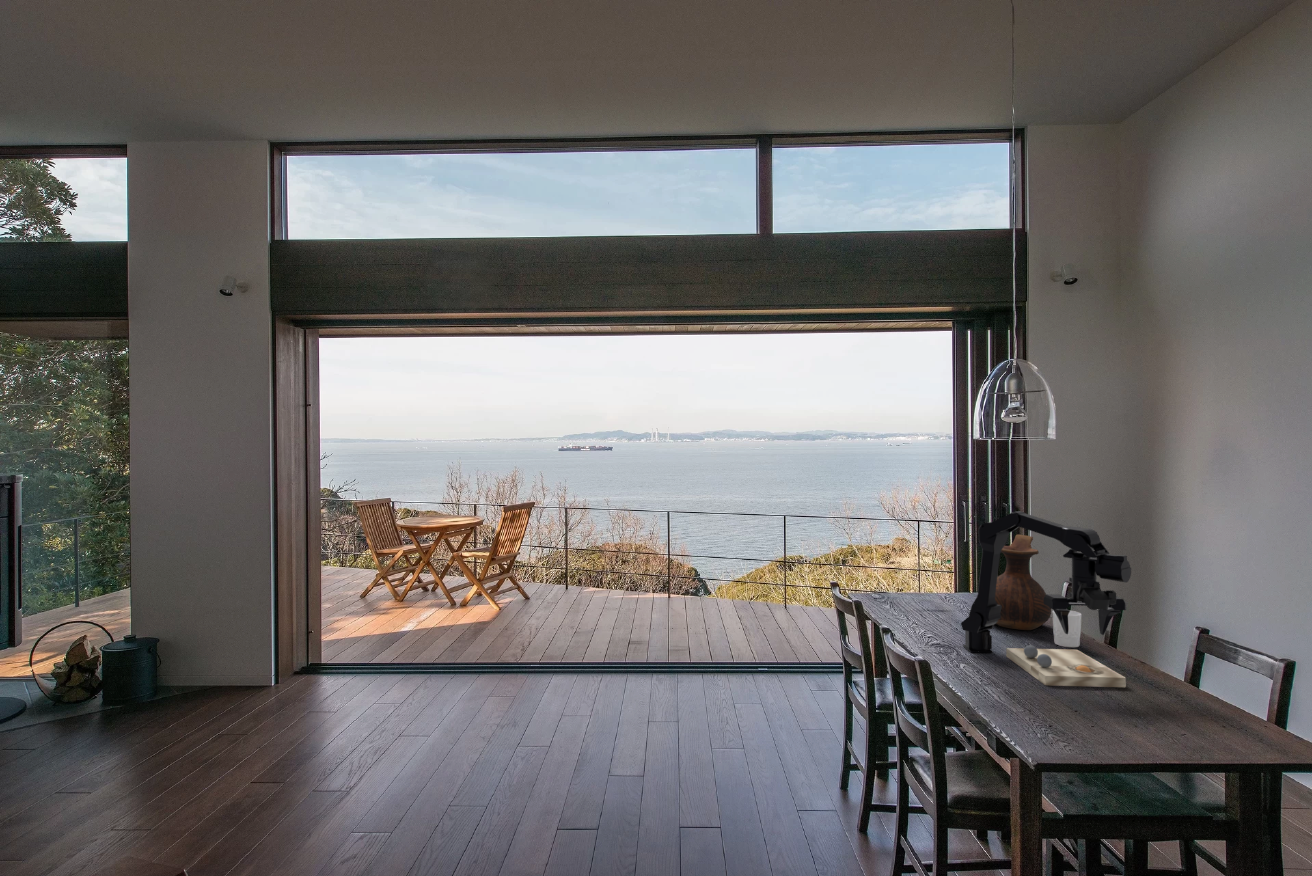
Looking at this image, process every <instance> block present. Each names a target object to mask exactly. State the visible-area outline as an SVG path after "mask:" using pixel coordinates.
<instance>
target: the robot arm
mask: <svg viewBox="0 0 1312 876" xmlns="http://www.w3.org/2000/svg"><path fill="white" fill-rule="evenodd" d="M1018 528H1022V529H1025V530H1028V531H1031V532H1034V533H1037V534H1040V535H1043V536H1046V537H1049V538H1052V539H1055V540H1057V541H1058V542H1060V543H1061V544H1063V546H1065V547H1067V548H1069V549H1068V551H1067V552H1066V553H1064V554H1063V555H1062V556H1063V558H1067V559H1071V577H1069V578H1068V581H1069V582H1070V583H1071V592H1069V595H1068V596H1069V597H1066V596H1063V595H1061V594H1056V593H1055V594H1049V593H1048V594H1047V593H1046V595H1045V597H1044V604H1045V605H1047V606H1049V608H1051V610H1052V611H1053V610H1054V612H1055V614H1056V615H1057V617H1058V619H1059V621H1060V624H1061V626H1062V628H1063V630H1064V633H1065V634H1068V630H1069V627H1068V614H1069V612H1070V611H1069V609H1068V608H1069V607H1070V606H1082V607H1083V606H1085V607H1087V609H1089V610H1092V611H1096V610H1097V611H1098V613H1097V614H1098V626H1099V627H1098V628H1099V629H1098V630H1099V634H1100V635H1102V636H1104V635H1105V633H1106V631H1107V629H1108V627H1109V625H1110V622H1111V620H1112V619H1113V618H1114V616H1115V615H1117V614H1120V613H1122V611H1126V610H1127V602H1126V600H1125V599H1123V598H1121V597H1119V596H1118V595H1117V593H1116V591H1115V590H1110V589H1109V590H1107V589H1106V590H1102V589H1101V584H1100V582H1099V581H1098V580H1097V578H1098V577H1099V578H1100V579H1101V580H1107V581H1114V582H1122V583H1128V582H1129V581H1130V579H1131V576H1132V567H1131V565H1130V562H1129V560H1128V556H1127V555H1124V554H1118V555H1117V554H1110V552H1109V551H1108V549H1107V548H1106V547H1105V545H1104V544H1103V542H1102V541H1101V539H1100V535H1099V534H1098V532H1097V531H1095V530H1094V529H1091V528H1086V527H1080V526H1068V525H1063V524H1059V523H1056V522H1054V521H1051V520H1047V519H1044V518H1041V517H1037V516H1034V515H1031V514H1028V513H1025V512H1024V511H1012V512H1010V513H1009V514H1007V515H1005V516H1003V517H1000V518H998V519H996V520H993V521H991V522H990V521H988V522H984V523H982V524H981V525H980V526H979V527H978V542H979V544H980V547H981V550H982V555H981V561H980V562H981V563H980V570H979V571H980V572H979V579H978V587H977V588H978V589H977V596H976V598H975V599H974V601H973V603H972V604H971V606H970V610H969V613H968V617H966V618H965V619H964V620H963V621H962V622H961V623H960V625H961V628H962V631H964V632H965V634H964V636H965V644H963V645H962V646H963V648H965V650H967V651H968V652H970V653H978V654H979V653H980V654H981V653H985V654H987V653H988V654H992V653H993V648H992V647H993V638H992V637H993V636H992V635H991V630H993V629H994V626H995V625H996V623H997V622H998V620H999V618H1001V615H1000V612H1001V608H1002V606H1001V605H997V603H996V600H995V593H996V584H997V577H998V576H999V575H998V573H999V565H1000V559H1001V557H1000V556H1001V553H1002V552H1001V550H1002V549H1003V547H1004V546H1006V544H1007V540H1008V538H1009V534H1010V533H1012V532H1014V531H1015V530H1017V529H1018Z"/></svg>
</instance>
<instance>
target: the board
mask: <svg viewBox="0 0 1312 876" xmlns="http://www.w3.org/2000/svg"><path fill="white" fill-rule="evenodd" d="M1024 648H1025V647H1024ZM1024 648H1019V647H1018V648H1015V647H1014V648H1013V647H1012V648H1011V647H1010V648H1009V647H1007V648H1006V649H1005V650H1006V651H1005V652H1006V653H1005V654H1006V655H1005V656H1006V658H1008V660H1010V661H1012V662H1013V663H1015V664H1016V665H1017V666H1019V667H1020V668H1021V669H1023V670H1024V671H1025V672H1026V673H1028V674H1029V675H1030V676H1032V677H1033V678H1035V679H1036V680H1037V681H1039V682H1040V683H1041V684H1042V685H1044V686H1050V687H1051V686H1055V687H1056V686H1058V687H1059V686H1060V687H1094V688H1097V687H1099V688H1100V687H1101V688H1126V687H1127V686H1126V685H1127V684H1126V677H1125V675H1124V676H1123V675H1122V674H1120V673H1119V672H1116V671H1115V670H1113V669H1111V668H1109V667H1108V666H1107V665H1105V664H1103V663H1100V662H1099V661H1097V660H1096V659H1095V658H1092V657H1091V656H1089V655H1087V654H1085V653H1083V652H1082V651H1080V650H1078V649H1071V648H1070V649H1064V648H1063V649H1062V648H1057V649H1056V648H1036V649H1037V650H1038V655H1037V656H1036V657H1035V658H1029V657H1027V656H1026V655H1025V654H1024ZM1041 654H1046V655H1048V656H1049V657H1050V658H1051V660H1052V664H1051V666H1049V667H1047V668H1044V667H1041V666H1040V665H1039V664H1038V662H1037V658H1038V656H1039V655H1041ZM1080 665H1084V666H1086V667H1088V668H1089V669H1090V671H1091V672H1083V671H1079V670H1077V669H1076V668H1077V667H1078V666H1080Z"/></svg>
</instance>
